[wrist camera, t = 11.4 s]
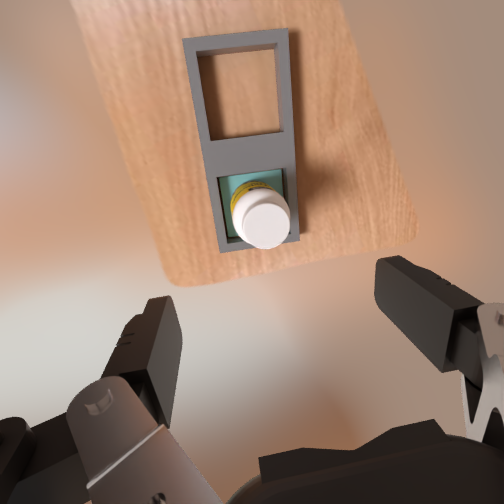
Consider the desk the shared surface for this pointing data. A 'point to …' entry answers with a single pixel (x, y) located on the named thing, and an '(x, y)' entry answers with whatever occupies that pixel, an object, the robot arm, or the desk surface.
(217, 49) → the frame
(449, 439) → the robot arm
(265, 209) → the supplement bottle
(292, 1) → the desk surface
